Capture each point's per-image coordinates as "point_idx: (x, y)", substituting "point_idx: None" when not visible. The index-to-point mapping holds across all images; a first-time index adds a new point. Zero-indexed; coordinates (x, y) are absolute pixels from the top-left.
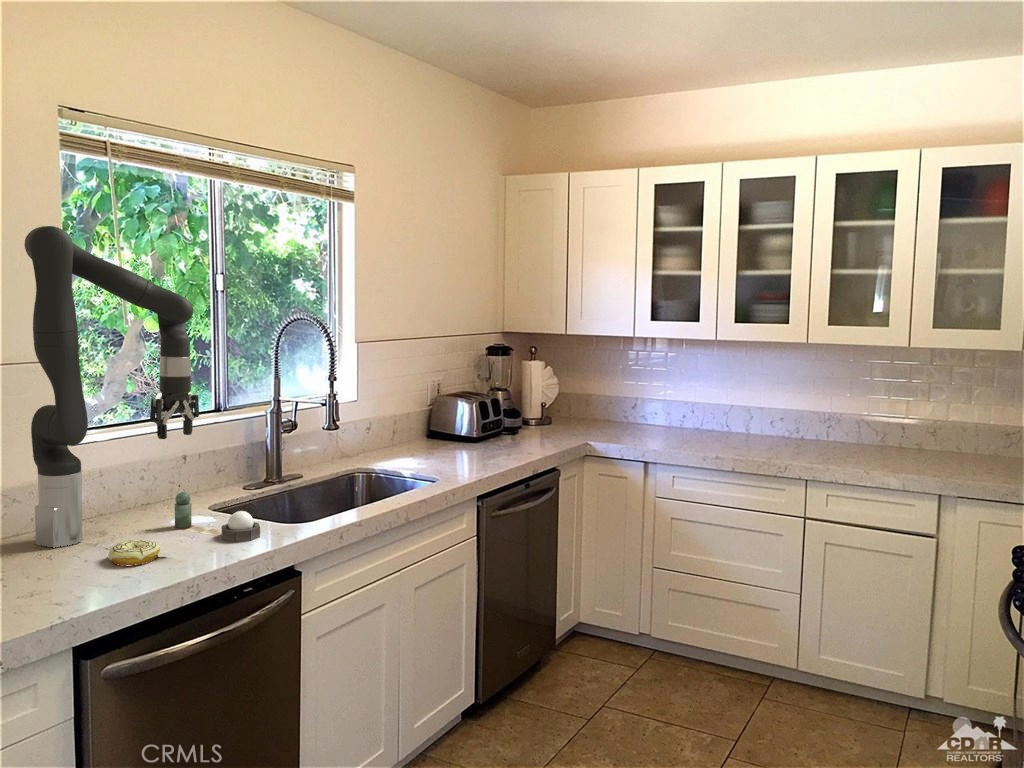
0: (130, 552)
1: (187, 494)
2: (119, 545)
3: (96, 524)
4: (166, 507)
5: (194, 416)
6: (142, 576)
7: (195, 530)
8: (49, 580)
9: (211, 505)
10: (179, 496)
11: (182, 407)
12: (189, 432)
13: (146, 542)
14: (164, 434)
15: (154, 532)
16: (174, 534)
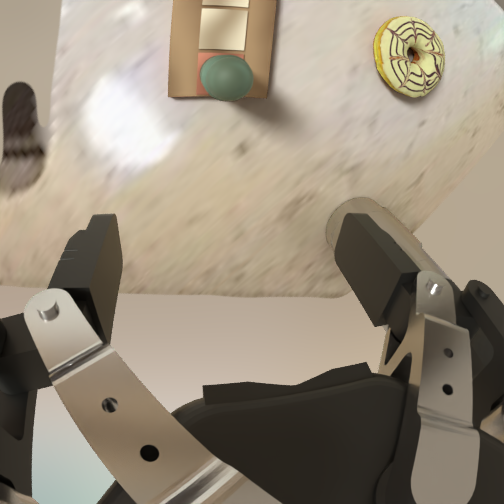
0: (442, 47)
1: (229, 65)
2: (430, 80)
3: (250, 259)
4: None
5: (7, 330)
6: (450, 10)
7: (233, 29)
8: (477, 118)
9: (23, 189)
10: (251, 78)
11: (226, 462)
12: (111, 222)
13: (405, 43)
14: (377, 228)
15: (251, 125)
16: None
